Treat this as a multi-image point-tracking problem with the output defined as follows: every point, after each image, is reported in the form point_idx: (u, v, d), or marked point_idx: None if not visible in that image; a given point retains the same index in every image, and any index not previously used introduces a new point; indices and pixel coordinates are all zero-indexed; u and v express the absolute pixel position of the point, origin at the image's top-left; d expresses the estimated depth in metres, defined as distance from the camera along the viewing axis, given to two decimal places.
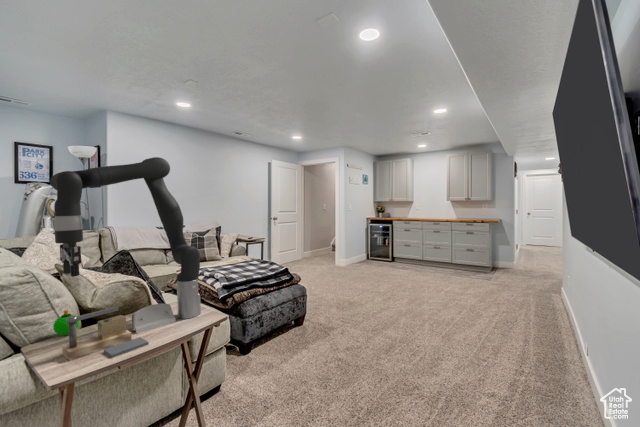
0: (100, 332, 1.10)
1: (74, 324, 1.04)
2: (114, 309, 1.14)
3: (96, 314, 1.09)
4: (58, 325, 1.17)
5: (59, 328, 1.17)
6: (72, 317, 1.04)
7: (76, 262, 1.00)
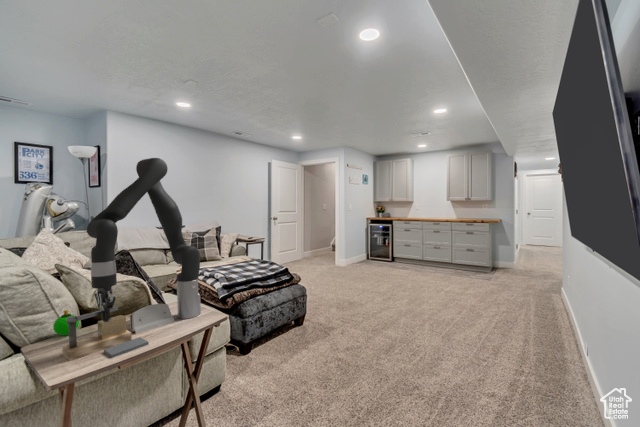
0: (100, 332, 1.10)
1: (74, 324, 1.04)
2: (114, 309, 1.14)
3: (96, 314, 1.09)
4: (58, 325, 1.17)
5: (59, 328, 1.17)
6: (72, 317, 1.04)
7: (108, 308, 1.07)
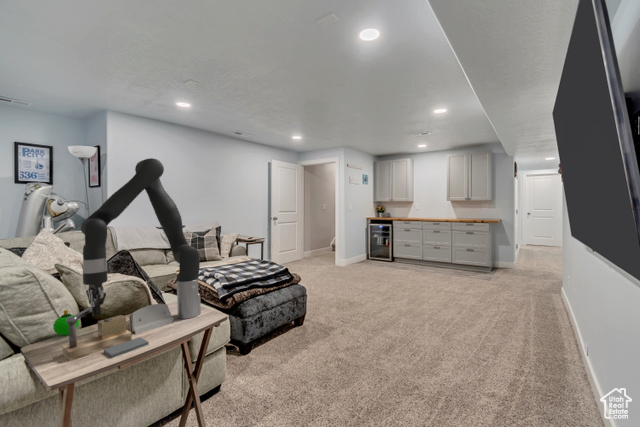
0: (100, 332, 1.10)
1: (74, 324, 1.04)
2: None
3: (86, 312, 1.11)
4: (58, 325, 1.17)
5: (59, 328, 1.17)
6: (72, 317, 1.04)
7: (99, 304, 1.11)
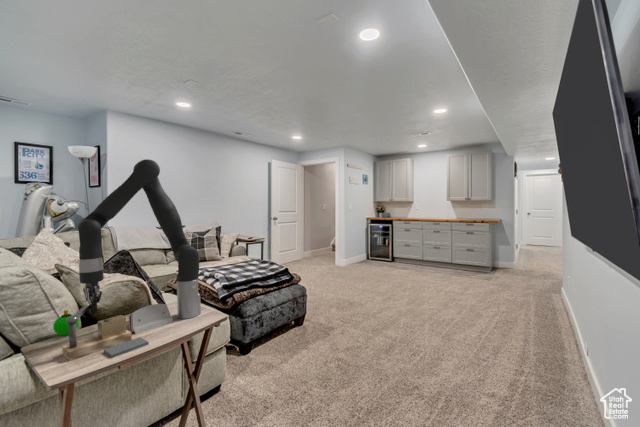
0: (100, 332, 1.10)
1: (74, 324, 1.04)
2: (87, 307, 1.16)
3: (82, 313, 1.10)
4: (58, 325, 1.17)
5: (59, 328, 1.17)
6: (72, 317, 1.04)
7: (95, 301, 1.15)
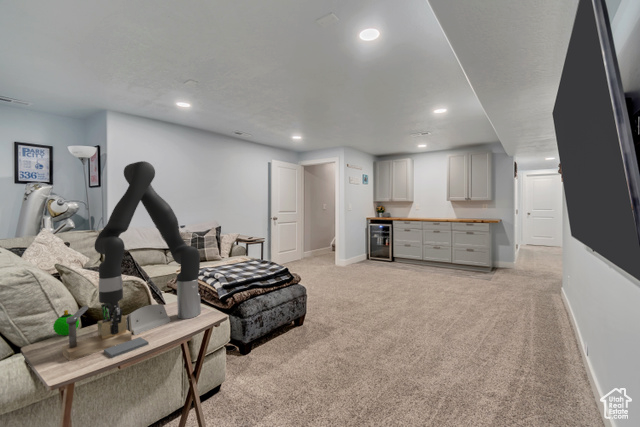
0: (100, 332, 1.10)
1: (74, 324, 1.04)
2: (87, 308, 1.16)
3: (81, 313, 1.10)
4: (58, 325, 1.17)
5: (59, 328, 1.17)
6: (72, 317, 1.04)
7: (117, 322, 1.10)
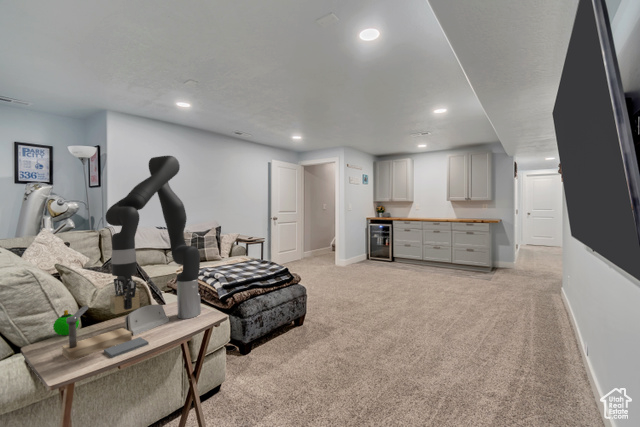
0: (113, 306, 1.05)
1: (74, 324, 1.04)
2: (87, 308, 1.16)
3: (81, 313, 1.10)
4: (58, 325, 1.17)
5: (59, 328, 1.17)
6: (72, 317, 1.04)
7: (130, 296, 1.05)
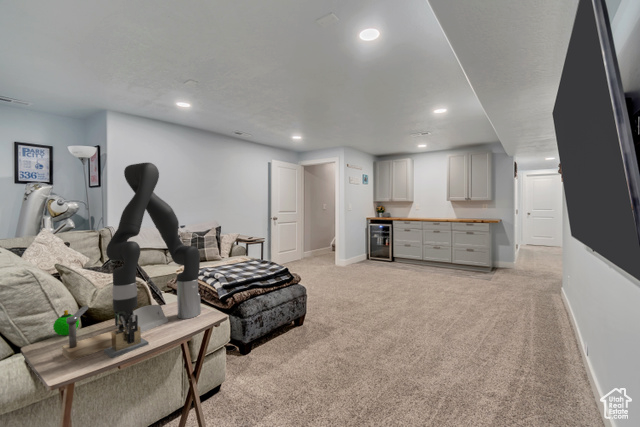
0: (114, 343, 1.05)
1: (74, 324, 1.04)
2: (87, 308, 1.16)
3: (81, 313, 1.10)
4: (58, 325, 1.17)
5: (59, 328, 1.17)
6: (72, 317, 1.04)
7: (133, 331, 1.05)
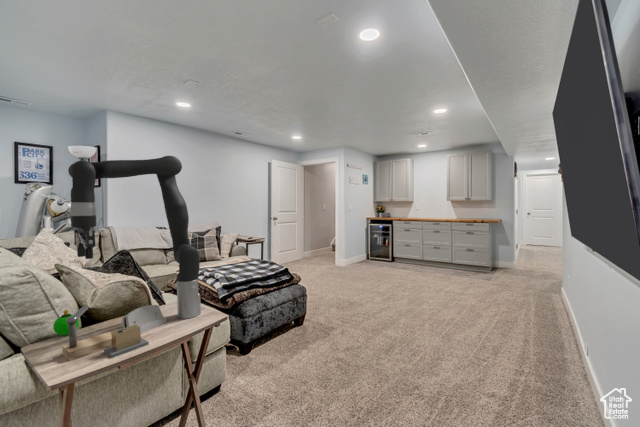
0: (114, 343, 1.05)
1: (74, 324, 1.04)
2: (87, 308, 1.16)
3: (81, 313, 1.10)
4: (58, 325, 1.17)
5: (59, 328, 1.17)
6: (72, 317, 1.04)
7: (90, 245, 1.07)
